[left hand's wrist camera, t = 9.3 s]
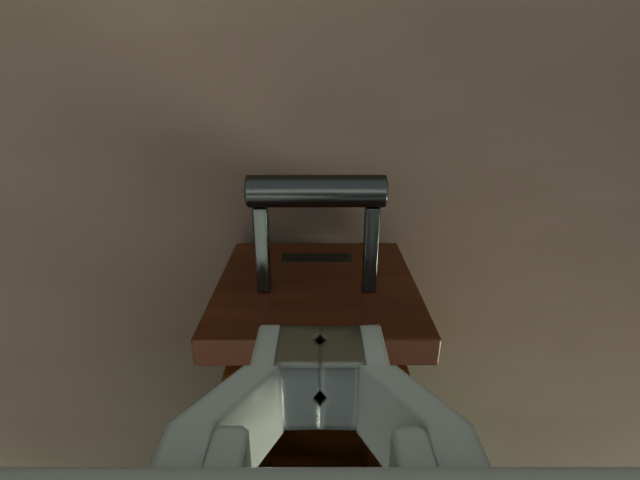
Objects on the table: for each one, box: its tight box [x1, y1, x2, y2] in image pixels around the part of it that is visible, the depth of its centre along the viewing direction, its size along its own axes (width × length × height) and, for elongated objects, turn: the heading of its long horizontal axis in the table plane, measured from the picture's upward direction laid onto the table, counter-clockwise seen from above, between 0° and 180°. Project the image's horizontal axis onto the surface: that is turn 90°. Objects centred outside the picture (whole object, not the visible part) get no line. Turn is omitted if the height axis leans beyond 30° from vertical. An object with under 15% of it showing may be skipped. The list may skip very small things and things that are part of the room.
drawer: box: [191, 175, 441, 467], centre depth 22 cm, size 22×9×9 cm, turn 0°
